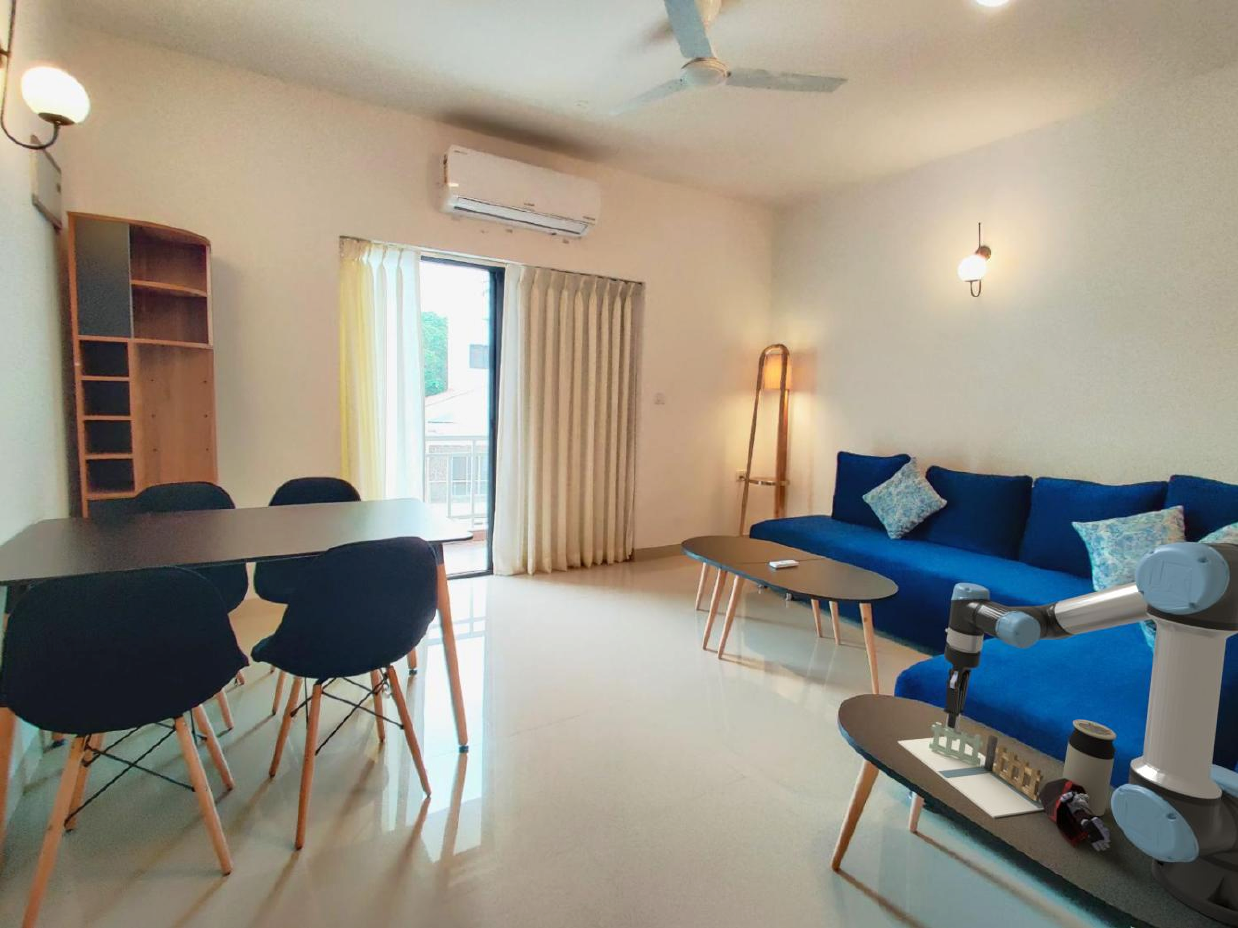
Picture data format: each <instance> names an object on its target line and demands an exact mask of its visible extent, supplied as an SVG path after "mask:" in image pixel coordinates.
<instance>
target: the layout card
mask: <svg viewBox="0 0 1238 928" xmlns="http://www.w3.org/2000/svg"><path fill="white" fill-rule="evenodd" d="M933 739H934V737H927V738H925V737H924V738H917V739H907V740H898V741H897V744H899V745H900V746H901V747H903V748H904V749H905V750H906V751H908V752H909V753H910V754H912V755H913V756H914V757H916V758H917V759H918V761H920V762H922V763H923V764H924V765H925V766H926V767H929V769H931V771H933V772H934V773H936V774H937V775H938V776H939V777H941V778H942V779H943V780H944V781H945V782H947V783H949V784H950V785H951V786H952V787H953V788H955V789H956V790H957V791H958V792H960V793H961V794H962V795H964V796H965V797H966V799H967V798H968V799H969V800H970V801H971V802H973V803H974V804H975V805H976V806H977V807H979V808H980V809H982V810H983V811H984V812H985V813H986V814H987V815H989V816H990V817H992V818H993V819H995V818H1000V817H1008V816H1015V815H1023V814H1028V813H1036V812H1043V811H1045V810H1044V808H1043V805H1042V803H1041V800H1040V798H1039V801H1035V800H1032V799H1030V798H1029V797H1028V795H1026V794H1025V793H1023V792H1020V791H1019V790H1017V789H1016V787H1015V786H1013V785H1012V784H1009V783H1008V782H1006V781H1005V779H1003V778H1002V777H1001V776H1000V777H999V776H998V775H996V774H995V772H993V771H988V770H986V769H985V768H984V765H985V758H986V755H983V754H982V753H981V752H978V758H981V762H980V765H978V764H977V765H976V764H973V763H971V762H969V761H966V760H961V759H958V758H957V757H954V756H951V755H950V756H949V755H946V754H945V753H942V752H939V751H934V750H932V749H930V748H929V744H930V742H932V743H933ZM946 741H947V738H946V737H944V736H940V737H939V744H938V745H941V746H944V747H946ZM959 745H960V740H959V739H957V741H954V740H952V747H951V749H953V750H956V751H959ZM972 750H973V746H970V745H969V744H968V743H966V745H965V752H964V753H965V754H968V755H971V756H972ZM994 766H996V763H995V762H994ZM1003 771H1005V772H1006V773H1007V770H1005V769H1004V770H1003ZM1014 778H1015V779H1016V780H1018V777H1016V776H1014ZM1025 786H1026V787H1028V788H1029V786H1028V784H1026V785H1025ZM1039 793H1040V792H1037V794H1038V795H1039Z"/></svg>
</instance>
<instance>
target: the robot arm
mask: <svg viewBox="0 0 1238 928" xmlns="http://www.w3.org/2000/svg"><path fill="white" fill-rule="evenodd" d="M990 598H991V597H990V590H989V589H988V588H986V587H985V586H982V585H979V584H976V583H969V582H959V583H956V584H955V585H954V587H953V593H952V596H951V599H950V600H951V603H950V610H949V611H950V612H949V613H950V614H949V622H948V628H945V630H944V631H945V633H947V636H946V644H945V647H944V654H943V657H944V659H945V660H946V661H947V662H948V663H950V664H951V665H952V666H951V667H950V668H949V670H948V677H949V678H947V679H946V681H945V682H946V693H945V695H946V696H945V708H944V709H943V712H944V713H945V714H946V720H945V724H944V725H945V726H944V728H945V729H948V727H951V728H953V729H954V732H958V733H960V732H959V730H960V724H961V723H960V722H961V716H962V715H965V714H966V711H965V710H963V709H964V708H965V702H966V697H967V692H968V688H969V683H970V678H971V673H972V669H977V668H978V667H979V666H980V664H981V663H980V662H981V655H982V652H981V651H982V649H983V645H984V636H985V634H987V635H989V636H991V637H993V638H996V639H998V640H1000V641H1002V642H1003V643H1005V644H1007V645H1010V646H1014V647H1016V648H1018V649H1028V648H1030V647H1031V646H1032V645H1035V644H1036V643H1037V642H1038V640H1039V641H1040V640H1065V639H1069V638H1072V637H1074V636H1076V635H1080V634H1084V633H1090V632H1095V631H1100V630H1105V629H1110V628H1115V627H1118V626H1123V625H1129V624H1136V623H1139V622H1144V621H1149V620H1151V621H1153V622H1154V623H1155V625H1156V631H1155V632H1156V633H1155V641H1154V650H1153V657H1152V668H1151V676H1150V678H1151V680H1150V687H1149V696H1148V705H1147V706H1148V707H1147V717H1146V723H1145V724H1146V726H1145V733H1144V741H1143V753H1142V756H1139V757H1136V758H1134V759H1132V760H1131V762H1130V767H1129V772H1128V774H1129V775H1128V783H1125V784H1123V785H1120V786H1119V787H1117V788H1116V789H1115V790H1114V791H1113V793H1112V795H1111V799H1110V807H1111V812H1112V815H1113V817H1114V819H1115V822H1116V824H1117V826H1118V827H1119V828H1120V829H1122V831H1123V834H1124V835H1125V836H1126V838H1127V840H1128V841H1130V842H1131V843H1132V844H1133V845H1134V846H1135V847H1136V848H1138V849H1139V850H1141V851H1142V852H1143V853H1145V854H1146V855H1148V856H1150V857H1152V863H1151V867H1150V868H1151V873H1152V875H1153V877H1154V879H1155V880H1156V881H1157V882H1158V883H1159V885H1160V886H1161V887H1162V888H1164V890H1166V891H1167V892H1168V893H1169V894H1170V895H1172V896H1173V897H1174V898H1175V899H1177V900H1179V901H1180V902H1181V903H1183V904H1184V905H1186V906H1188V907H1190V908H1191V909H1193V910H1195V911H1197V912H1199V911H1200V912H1199V913H1201V914H1202V915H1205V916H1207V917H1209V918H1211V919H1213V918H1214V920H1216V921H1219V922H1220V923H1224V924H1226V925H1227V924H1228V925H1230V926H1232V927H1233V926H1234V927H1238V772H1235V771H1233V770H1230V769H1228V768H1226V767H1223V766H1219V765H1216V764H1213V757H1214V750H1215V749H1214V748H1215V747H1214V746H1215V742H1216V741H1215V740H1216V730H1217V721H1218V713H1219V707H1220V706H1219V704H1220V696H1221V688H1222V687H1221V686H1222V677H1223V671H1224V661H1225V651H1226V644H1227V643H1226V642H1227V639H1228V638H1229V637H1231V636H1234V635H1237V634H1238V543H1234V542H1232V543H1231V542H1219V543H1217V542H1198V541H1197V542H1196V541H1195V542H1193V541H1180V542H1179V541H1178V542H1175V543H1174V542H1173V543H1166V544H1162V545H1159V546H1156V547H1154V548H1152V549H1151V550H1149V551H1148V552H1146V553H1145V554H1144V555H1143V556H1142V557H1141V558H1140V560H1139V561H1138V562H1137V565H1136V568H1135V571H1134V581H1132V582H1128V583H1125V584H1121V585H1117V586H1114V587H1110V588H1106V589H1103V590H1098V591H1095V592H1090V593H1086V594H1083V595H1079V596H1075V597H1071V598H1067V599H1064V600H1059V601H1055V602H1052V603H1049V604H1044V605H1035V606H1032V605H1031V606H1030V605H1029V606H1006V605H1003V604H1001V603H998V602H996V601H993V600H991V599H990ZM984 633H985V634H984ZM943 737H946V738H947V735H944V734H943ZM953 740H954V741H957V739H956V738H953Z"/></svg>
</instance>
